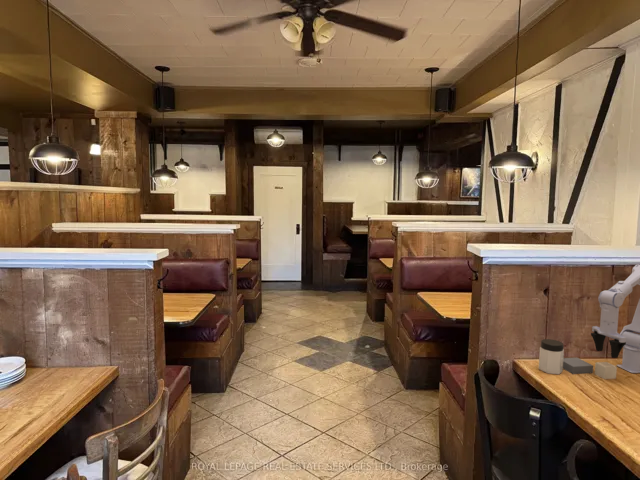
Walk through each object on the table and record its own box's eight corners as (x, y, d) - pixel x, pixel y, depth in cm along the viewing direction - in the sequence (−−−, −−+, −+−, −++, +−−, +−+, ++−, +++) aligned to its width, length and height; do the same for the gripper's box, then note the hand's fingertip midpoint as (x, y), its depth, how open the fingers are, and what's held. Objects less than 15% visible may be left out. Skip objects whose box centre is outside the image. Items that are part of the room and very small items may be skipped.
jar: (557, 376, 167) (559, 347, 166) (536, 370, 173) (537, 342, 172) (564, 370, 173) (566, 342, 172) (543, 364, 179) (545, 337, 178)
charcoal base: (576, 365, 180) (577, 357, 179) (592, 373, 171) (593, 365, 170) (557, 366, 178) (557, 358, 178) (572, 374, 170) (573, 366, 169)
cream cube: (605, 373, 170) (606, 361, 170) (615, 378, 165) (616, 366, 165) (594, 374, 170) (595, 362, 169) (604, 379, 165) (605, 367, 164)
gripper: (586, 316, 172) (584, 348, 173) (615, 326, 158) (612, 361, 159) (601, 315, 173) (599, 347, 174) (631, 326, 159) (629, 360, 160)
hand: (606, 354), depth 167 cm, fingers open, 7 cm apart
